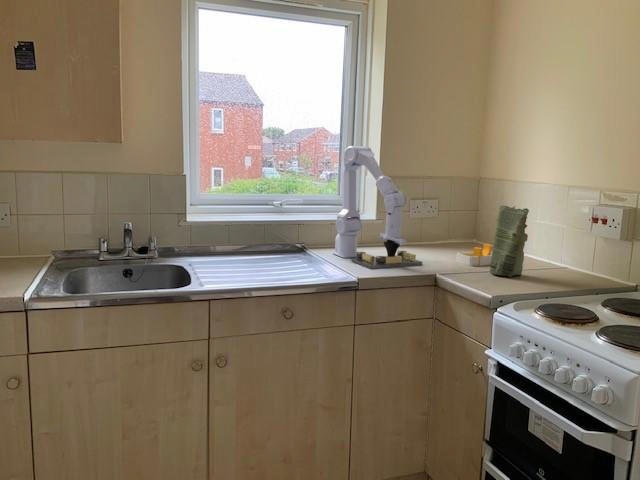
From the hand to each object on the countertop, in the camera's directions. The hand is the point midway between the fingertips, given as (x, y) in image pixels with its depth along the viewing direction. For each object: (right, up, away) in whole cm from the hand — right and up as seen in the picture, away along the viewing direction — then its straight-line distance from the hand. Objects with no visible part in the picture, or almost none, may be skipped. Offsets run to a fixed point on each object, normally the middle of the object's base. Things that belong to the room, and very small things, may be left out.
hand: (391, 260), depth 214 cm
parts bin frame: (+36, -1, +11) cm, 38 cm away
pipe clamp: (+36, -1, +11) cm, 38 cm away
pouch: (+40, -5, -10) cm, 42 cm away
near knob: (-1, -1, -1) cm, 2 cm away
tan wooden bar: (-10, 0, +2) cm, 10 cm away
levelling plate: (-1, -1, +4) cm, 5 cm away
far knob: (+7, +1, +7) cm, 10 cm away
